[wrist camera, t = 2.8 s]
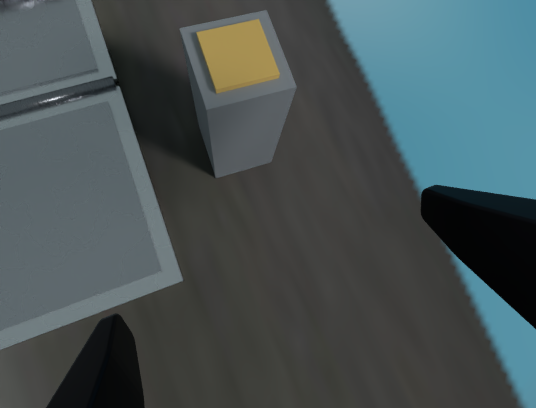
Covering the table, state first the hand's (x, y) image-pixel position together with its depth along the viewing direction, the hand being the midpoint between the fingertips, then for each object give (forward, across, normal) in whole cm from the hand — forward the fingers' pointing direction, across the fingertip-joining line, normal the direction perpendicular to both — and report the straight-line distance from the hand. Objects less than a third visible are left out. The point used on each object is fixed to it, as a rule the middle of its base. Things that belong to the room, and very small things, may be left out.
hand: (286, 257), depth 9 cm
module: (+16, -2, +2) cm, 16 cm away
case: (+20, +12, -3) cm, 24 cm away
